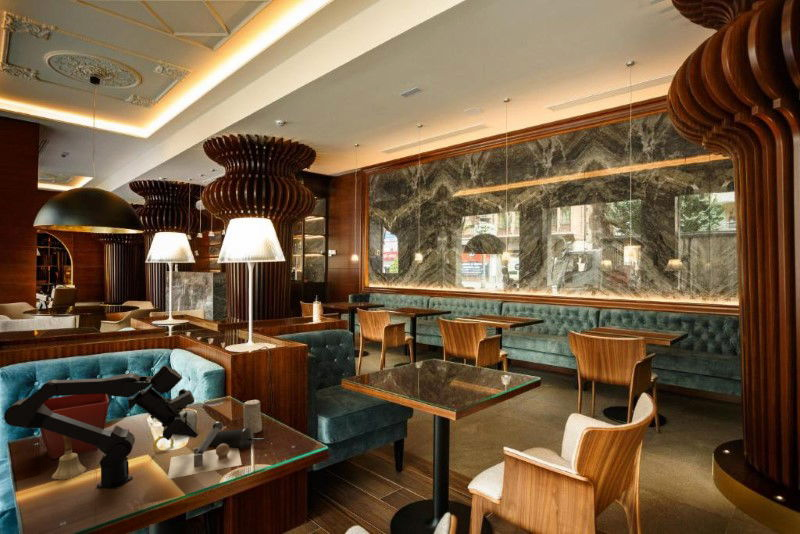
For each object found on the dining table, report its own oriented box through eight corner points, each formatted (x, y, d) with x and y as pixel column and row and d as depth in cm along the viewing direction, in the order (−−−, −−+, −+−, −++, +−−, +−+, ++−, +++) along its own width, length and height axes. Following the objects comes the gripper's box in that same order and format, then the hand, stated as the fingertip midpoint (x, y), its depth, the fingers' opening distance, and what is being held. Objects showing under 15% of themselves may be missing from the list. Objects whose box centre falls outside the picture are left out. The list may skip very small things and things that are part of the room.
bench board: (167, 484, 126) (167, 466, 126) (171, 462, 140) (170, 446, 140) (241, 469, 134) (241, 453, 134) (237, 450, 148) (237, 435, 148)
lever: (192, 456, 134) (216, 422, 136) (192, 451, 137) (216, 418, 140) (201, 460, 135) (225, 426, 137) (201, 455, 138) (224, 422, 141)
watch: (170, 449, 151) (171, 431, 151) (174, 451, 149) (175, 433, 149) (151, 453, 146) (152, 435, 147) (155, 456, 145) (156, 437, 145)
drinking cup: (209, 456, 150) (262, 457, 146) (201, 441, 147) (255, 440, 142) (221, 438, 157) (272, 438, 152) (213, 423, 153) (265, 422, 149)
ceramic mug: (198, 431, 166) (197, 411, 166) (174, 436, 161) (173, 415, 162) (192, 424, 175) (192, 404, 175) (169, 428, 170) (169, 408, 170)
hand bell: (58, 482, 128) (57, 428, 128) (46, 476, 132) (45, 423, 132) (91, 471, 135) (89, 419, 135) (78, 465, 139) (77, 415, 139)
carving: (256, 429, 167) (255, 397, 167) (265, 434, 162) (265, 401, 162) (240, 433, 163) (239, 401, 163) (249, 439, 158) (248, 405, 158)
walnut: (216, 461, 136) (215, 447, 136) (215, 456, 140) (215, 442, 140) (229, 459, 138) (229, 445, 138) (229, 454, 142) (228, 440, 142)
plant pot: (107, 434, 165) (106, 389, 165) (110, 450, 150) (109, 401, 150) (42, 447, 154) (41, 399, 154) (37, 466, 139) (36, 413, 139)
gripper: (175, 391, 125) (217, 424, 130) (178, 377, 142) (215, 406, 147) (143, 423, 122) (188, 456, 127) (151, 404, 139) (189, 433, 144)
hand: (196, 436), depth 136 cm, fingers closed
